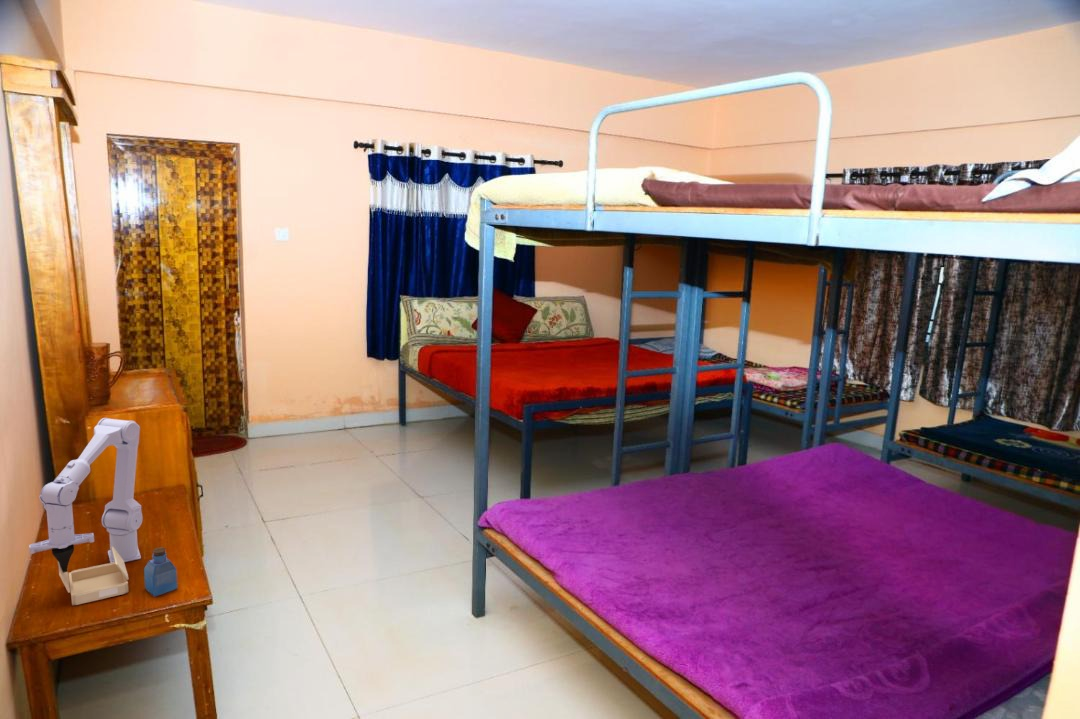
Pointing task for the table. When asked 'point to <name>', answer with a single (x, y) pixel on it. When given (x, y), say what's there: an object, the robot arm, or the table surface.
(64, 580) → the flap
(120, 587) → the carton
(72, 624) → the table surface
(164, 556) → the perfume bottle
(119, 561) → the flap
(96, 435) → the robot arm
